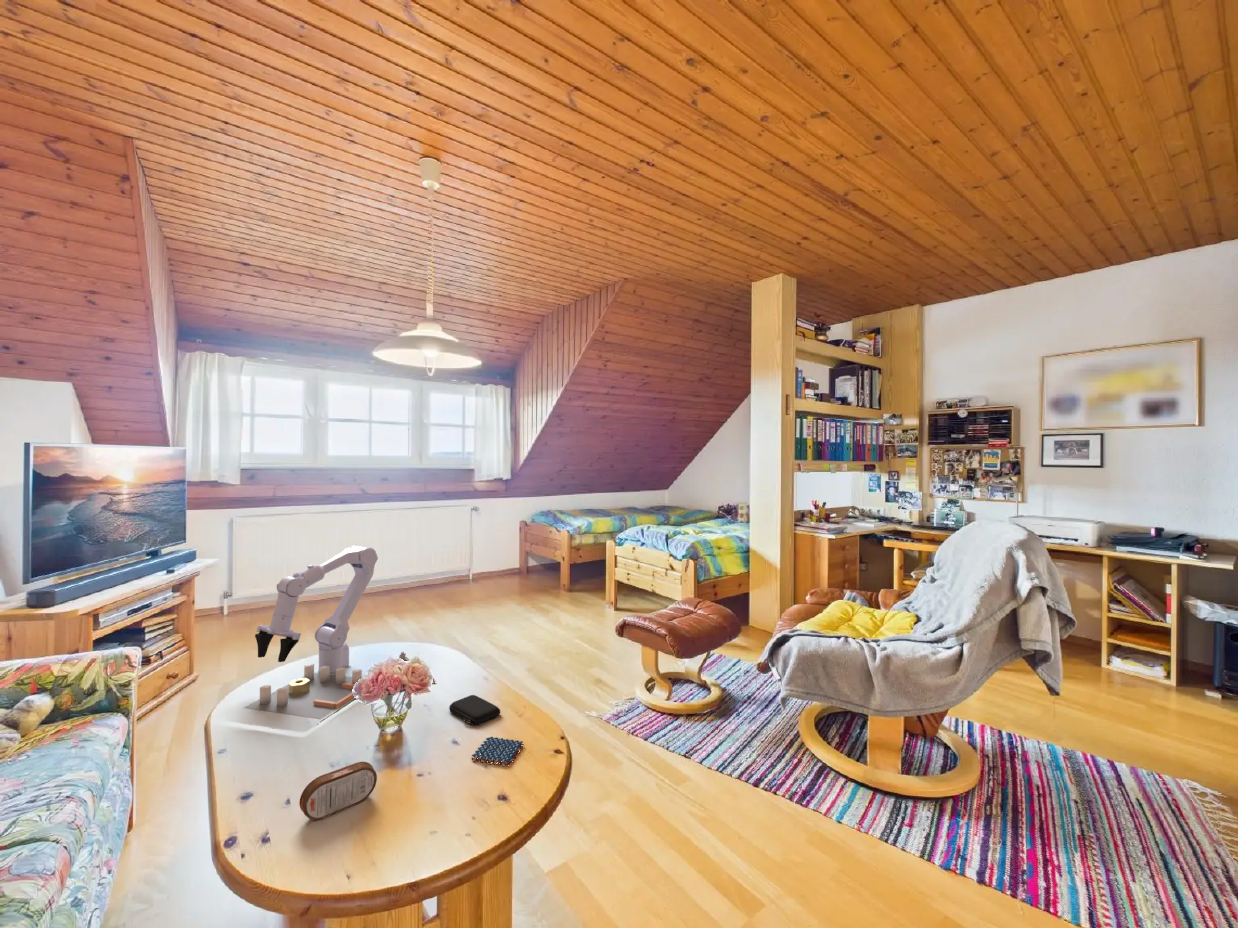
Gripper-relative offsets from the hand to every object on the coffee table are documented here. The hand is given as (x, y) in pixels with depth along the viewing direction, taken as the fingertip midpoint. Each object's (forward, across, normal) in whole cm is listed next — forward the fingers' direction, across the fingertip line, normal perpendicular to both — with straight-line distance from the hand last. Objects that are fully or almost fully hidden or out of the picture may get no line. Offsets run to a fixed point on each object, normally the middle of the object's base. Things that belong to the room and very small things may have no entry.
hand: (271, 659), depth 169 cm
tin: (+16, +60, -39) cm, 73 cm away
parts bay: (+7, +25, +3) cm, 26 cm away
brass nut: (+8, +10, +3) cm, 13 cm away
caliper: (+2, +37, +25) cm, 44 cm away
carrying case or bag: (+4, +68, +5) cm, 68 cm away
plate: (+9, +16, +4) cm, 19 cm away
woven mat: (+7, +84, -12) cm, 85 cm away
